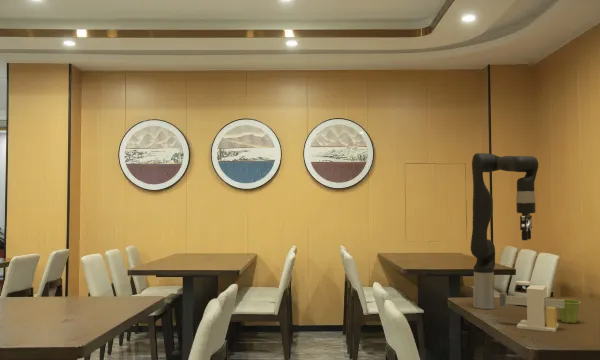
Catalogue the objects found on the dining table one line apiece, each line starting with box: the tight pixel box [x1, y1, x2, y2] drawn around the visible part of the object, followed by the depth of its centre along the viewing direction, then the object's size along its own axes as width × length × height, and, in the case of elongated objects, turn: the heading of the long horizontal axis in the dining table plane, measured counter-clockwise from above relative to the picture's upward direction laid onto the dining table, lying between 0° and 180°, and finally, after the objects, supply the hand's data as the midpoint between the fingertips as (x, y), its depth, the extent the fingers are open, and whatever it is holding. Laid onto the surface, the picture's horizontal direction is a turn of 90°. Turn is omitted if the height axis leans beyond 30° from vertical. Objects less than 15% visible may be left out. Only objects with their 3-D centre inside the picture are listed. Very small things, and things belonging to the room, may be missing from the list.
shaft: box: [499, 292, 565, 309], centre depth 217 cm, size 24×5×5 cm, turn 59°
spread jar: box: [513, 280, 531, 307], centre depth 263 cm, size 12×11×12 cm
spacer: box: [546, 307, 558, 328], centre depth 213 cm, size 3×8×8 cm, turn 149°
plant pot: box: [558, 299, 581, 324], centre depth 225 cm, size 9×9×9 cm
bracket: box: [516, 284, 559, 333], centre depth 216 cm, size 14×13×16 cm
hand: (526, 239), depth 228 cm, fingers open, 8 cm apart
